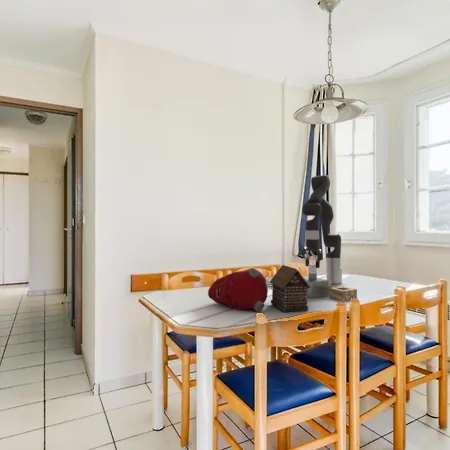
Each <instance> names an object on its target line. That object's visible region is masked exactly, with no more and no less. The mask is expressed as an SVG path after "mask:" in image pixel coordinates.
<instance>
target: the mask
mask: <svg viewBox="0 0 450 450" xmlns="http://www.w3.org/2000/svg"><path fill="white" fill-rule="evenodd" d="M268 290H269V289H268V284H267V283H266V277H265V276H264V274H263V273H262V272H261V271H259V270H257V269H256V268H253V267H251V268H248V269H245V270H240V271H234V272H232V273H228V274H226V275H225V276H223V277H220V278H218V279H216V280H215V281H213V283H212V284H211V285H210V287H209V288H208V291H207V296H208V297H209V299H210V300H212V301H214V302H215V304H216V303H217V304H219V305H223V306H229V307H230V308H233V309H236V310H240V311H241V310H250V309H253V310H255V312H257V313H259V312H261V311H262V310H263V309H264V307H265V302H266V300H267V298H268V292H269V291H268Z"/></svg>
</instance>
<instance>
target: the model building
mask: <svg viewBox="0 0 450 450" xmlns="http://www.w3.org/2000/svg"><path fill="white" fill-rule="evenodd" d="M272 277H273V278H272V279H271V278H270V279H271V281H270V283H271V284H273V285H272V286H273V287H272V290H271V292H272V293H271V294H272V295H271V299H270V303H271V306H274V307H275V308H277V309H278V310H279V311H281V312H282V313H283V312H284V313H290V312H306V311H308V310H309V306H308V297H307V289H308V288H310V286H309V284H308V283H307V282H306V280H305V279H304V278H305V277H303V274H301V273H300V270H299V269H297V268H294V267H291V266H288V265H285V264H282V265H281V266H280V267H279V268H278V270H277V271H276V273H275V274H274V275H273V276H272ZM271 284H270V285H271Z"/></svg>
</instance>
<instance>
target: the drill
mask: <svg viewBox="0 0 450 450" xmlns="http://www.w3.org/2000/svg"><path fill="white" fill-rule="evenodd" d="M307 267H308V271H307V272H308V276H307V277H308V278H309V280H317V278H318V277H317V276H318V275H317V273H318V272H317V271H318V268H316V265H315V264H314V263H309V264H308V266H307Z"/></svg>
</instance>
